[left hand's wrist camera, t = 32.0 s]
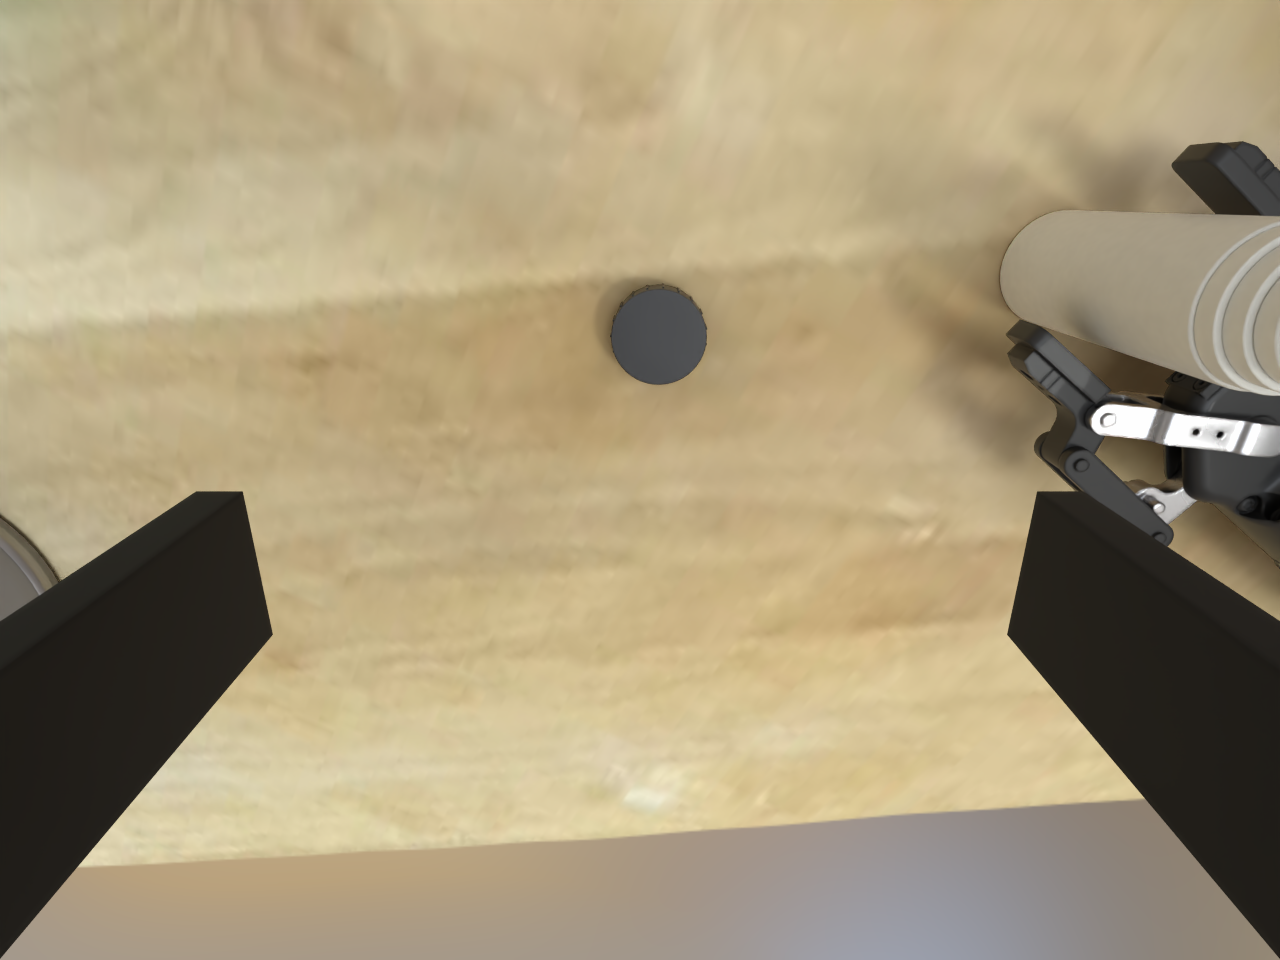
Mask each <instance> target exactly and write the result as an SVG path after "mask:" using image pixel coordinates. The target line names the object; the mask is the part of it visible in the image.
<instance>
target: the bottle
mask: <svg viewBox="0 0 1280 960" xmlns="http://www.w3.org/2000/svg"><path fill="white" fill-rule="evenodd" d="M1000 285H1001V291H1002V294H1003V297H1004V299H1005V302H1006V303H1007V305H1008V306H1009V308H1010V309H1011V310H1012V311H1013V312H1014V313H1015V314H1016V315H1017V316H1019V317H1020V318H1022V319H1024V320H1026V321H1028V322H1031V323H1034V324H1037V325H1040V326H1043V327H1046V328H1049V329H1052V330H1055V331H1058V332H1061V333H1064V334H1067V335H1070V336H1073V337H1076V338H1079V339H1082V340H1085V341H1088V342H1091V343H1094V344H1097V345H1100V346H1103V347H1106V348H1109V349H1112V350H1115V351H1118V352H1121V353H1124V354H1127V355H1130V356H1133V357H1136V358H1139V359H1142V360H1145V361H1147V362H1150V363H1153V364H1156V365H1159V366H1162V367H1165V368H1168V369H1171V370H1174V371H1177V372H1180V373H1183V374H1186V375H1189V376H1192V377H1195V378H1198V379H1201V380H1204V381H1207V382H1210V383H1213V384H1216V385H1219V386H1222V387H1225V388H1228V389H1233V390H1237V391H1245V392H1253V393H1257V394H1261V395H1270V396H1280V216H1253V215H1220V214H1187V213H1154V212H1121V211H1088V210H1061V211H1055V212H1052V213H1048V214H1046V215H1043V216H1041V217H1039V218H1037V219H1036V220H1034V221H1032V222H1031V223H1030V224H1028V225H1027V226H1026V227H1025V228H1024V229H1023V230H1022V231H1021V232H1019V234H1018V235H1017V236H1016V237H1015V238H1014V240H1013V241H1012V243H1011V244H1010V246H1009V248H1008V249H1007V251H1006V253H1005V256H1004V259H1003V262H1002V266H1001V272H1000Z"/></svg>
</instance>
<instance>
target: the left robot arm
mask: <svg viewBox="0 0 1280 960" xmlns="http://www.w3.org/2000/svg"><path fill="white" fill-rule="evenodd" d="M272 635H273V633H272V629H271V624H270V619H269V614H268V610H267V605H266V600H265V595H264V590H263V586H262V581H261V576H260V571H259V567H258V562H257V557H256V552H255V548H254V543H253V538H252V533H251V529H250V524H249V519H248V514H247V510H246V505H245V500H244V495H243V492H195V493H193V494H192V495H190V496H189V497H187V498H186V499H184V500H183V501H181V502H180V503H178V504H177V505H175V506H174V507H172V508H171V509H169V510H168V511H166V512H165V513H163V514H162V515H160V516H159V517H157V518H156V519H154V520H152V521H151V522H149V523H148V524H146V525H145V526H143V527H142V528H140V529H139V530H137V531H136V532H134V533H133V534H131V535H130V536H128V537H127V538H125V539H124V540H122V541H121V542H119V543H118V544H116V545H115V546H113V547H112V548H110V549H109V550H107V551H106V552H104V553H103V554H101V555H100V556H98V557H97V558H95V559H94V560H92V561H91V562H89V563H87V564H86V565H84V566H83V567H81V568H80V569H78V570H77V571H75V572H74V573H72V574H71V575H69V576H68V577H66V578H65V579H63V580H62V581H60V582H58V581H57V579H56V577H55V576H54V574H53V572H52V571H51V569H50V568H49V567H48V565H47V564H46V562H45V561H44V560H43V558H42V557H41V556H40V555H39V554H38V552H37V551H36V550H35V549H34V548H33V547H32V546H31V545H30V544H29V542H28V541H27V540H26V539H25V538H24V537H23V536H21V535H20V534H19V533H18V532H17V531H16V530H15V529H14V528H13V527H11V526H10V525H9V524H8V523H6V522H5V521H4V520H2V519H1V518H0V958H1V957H2V956H3V955H4V954H5V952H6V951H7V950H8V949H9V948H10V946H11V945H12V944H13V943H14V942H15V940H16V939H17V938H18V937H19V936H20V935H21V933H22V932H23V931H24V930H25V929H26V927H27V926H28V925H29V924H30V923H31V921H32V920H33V919H34V918H35V917H36V915H37V914H38V913H39V912H40V911H41V910H42V908H43V907H44V906H45V905H46V904H47V902H48V901H49V900H50V899H51V898H52V896H53V895H54V894H55V893H56V892H57V890H58V889H59V888H60V887H61V886H62V885H63V883H64V882H65V881H66V880H67V879H68V877H69V876H70V875H71V874H72V873H73V872H74V870H75V869H76V868H77V867H78V866H79V864H80V863H81V862H82V861H83V860H84V858H85V857H86V856H87V855H88V854H89V852H90V851H91V850H92V849H93V848H94V847H95V845H96V844H97V843H98V842H99V841H100V839H101V838H102V837H103V836H104V835H105V833H106V832H107V831H108V830H109V829H110V828H111V826H112V825H113V824H114V823H115V822H116V820H117V819H118V818H119V817H120V816H121V814H122V813H123V812H124V811H125V810H126V809H127V807H128V806H129V805H130V804H131V803H132V801H133V800H134V799H135V798H136V797H137V795H138V794H139V793H140V792H141V791H142V789H143V788H144V787H145V786H146V785H147V784H148V782H149V781H150V780H151V779H152V778H153V776H154V775H155V774H156V773H157V772H158V770H159V769H160V768H161V767H162V766H163V765H164V763H165V762H166V761H167V760H168V759H169V757H170V756H171V755H172V754H173V753H174V751H175V750H176V749H177V748H178V747H179V745H180V744H181V743H182V742H183V741H184V740H185V738H186V737H187V736H188V735H189V734H190V732H191V731H192V730H193V729H194V728H195V726H196V725H197V724H198V723H199V722H200V721H201V719H202V718H203V717H204V716H205V715H206V713H207V712H208V711H209V710H210V709H211V707H212V706H213V705H214V704H215V703H216V702H217V700H218V699H219V698H220V697H221V696H222V694H223V693H224V692H225V691H226V690H227V688H228V687H229V686H230V685H231V684H232V682H233V681H234V680H235V679H236V678H237V677H238V675H239V674H240V673H241V672H242V671H243V669H244V668H245V667H246V666H247V665H248V663H249V662H250V661H251V660H252V659H253V658H254V656H255V655H256V654H257V653H258V652H259V650H260V649H261V648H262V647H263V646H264V644H265V643H266V642H267V641H268V640H269V639H270V637H271V636H272ZM1007 635H1008V636H1009V637H1010V639H1011V640H1012V641H1013V642H1014V643H1015V644H1016V646H1017V647H1018V648H1019V649H1020V650H1021V652H1022V653H1023V654H1024V655H1025V656H1026V658H1027V659H1028V660H1029V661H1030V662H1031V663H1032V665H1033V666H1034V667H1035V668H1036V669H1037V671H1038V672H1039V673H1040V674H1041V675H1042V677H1043V678H1044V679H1045V680H1046V681H1047V682H1048V684H1049V685H1050V686H1051V687H1052V688H1053V690H1054V691H1055V692H1056V693H1057V694H1058V696H1059V697H1060V698H1061V699H1062V700H1063V702H1064V703H1065V704H1066V705H1067V706H1068V707H1069V709H1070V710H1071V711H1072V712H1073V713H1074V715H1075V716H1076V717H1077V718H1078V719H1079V721H1080V722H1081V723H1082V724H1083V725H1084V726H1085V728H1086V729H1087V730H1088V731H1089V732H1090V734H1091V735H1092V736H1093V737H1094V738H1095V740H1096V741H1097V742H1098V743H1099V744H1100V745H1101V747H1102V748H1103V749H1104V750H1105V751H1106V753H1107V754H1108V755H1109V756H1110V757H1111V759H1112V760H1113V761H1114V762H1115V763H1116V765H1117V766H1118V767H1119V768H1120V769H1121V770H1122V772H1123V773H1124V774H1125V775H1126V776H1127V778H1128V779H1129V780H1130V781H1131V782H1132V784H1133V785H1134V786H1135V787H1136V788H1137V789H1138V791H1139V792H1140V793H1141V794H1142V795H1143V797H1144V798H1145V799H1146V800H1147V801H1148V803H1149V804H1150V805H1151V806H1152V807H1153V809H1154V810H1155V811H1156V812H1157V813H1158V814H1159V816H1160V817H1161V818H1162V819H1163V820H1164V822H1165V823H1166V824H1167V825H1168V826H1169V827H1170V829H1171V830H1172V831H1173V832H1174V833H1175V835H1176V836H1177V837H1178V838H1179V839H1180V841H1181V842H1182V843H1183V844H1184V845H1185V847H1186V848H1187V849H1188V850H1189V851H1190V852H1191V854H1192V855H1193V856H1194V857H1195V858H1196V860H1197V861H1198V862H1199V863H1200V864H1201V866H1202V867H1203V868H1204V869H1205V870H1206V871H1207V873H1208V874H1209V875H1210V876H1211V877H1212V879H1213V880H1214V881H1215V882H1216V883H1217V885H1218V886H1219V887H1220V888H1221V889H1222V891H1223V892H1224V893H1225V894H1226V895H1227V896H1228V898H1229V899H1230V900H1231V901H1232V902H1233V904H1234V905H1235V906H1236V907H1237V908H1238V910H1239V911H1240V912H1241V913H1242V914H1243V916H1244V917H1245V918H1246V919H1247V920H1248V921H1249V923H1250V924H1251V925H1252V926H1253V927H1254V929H1255V930H1256V931H1257V932H1258V933H1259V934H1260V936H1261V937H1262V938H1263V939H1264V940H1265V942H1266V943H1267V944H1268V945H1269V946H1270V948H1271V949H1272V950H1273V951H1274V952H1275V954H1276V955H1277V956H1278V957H1279V958H1280V621H1279V620H1277V619H1276V618H1274V617H1273V616H1271V615H1270V614H1268V613H1267V612H1265V611H1264V610H1262V609H1261V608H1259V607H1258V606H1256V605H1254V604H1253V603H1251V602H1250V601H1248V600H1247V599H1245V598H1244V597H1242V596H1241V595H1239V594H1238V593H1236V592H1235V591H1233V590H1232V589H1230V588H1229V587H1227V586H1226V585H1224V584H1223V583H1221V582H1220V581H1218V580H1217V579H1215V578H1214V577H1212V576H1211V575H1209V574H1208V573H1206V572H1205V571H1203V570H1202V569H1200V568H1199V567H1197V566H1196V565H1194V564H1193V563H1191V562H1189V561H1188V560H1186V559H1185V558H1183V557H1182V556H1180V555H1179V554H1177V553H1176V552H1174V551H1173V550H1171V549H1170V548H1168V547H1167V546H1165V545H1164V544H1162V543H1161V542H1159V541H1158V540H1156V539H1155V538H1153V537H1152V536H1150V535H1149V534H1147V533H1146V532H1144V531H1143V530H1141V529H1140V528H1138V527H1137V526H1135V525H1134V524H1132V523H1131V522H1129V521H1128V520H1126V519H1124V518H1123V517H1121V516H1120V515H1118V514H1117V513H1115V512H1114V511H1112V510H1111V509H1109V508H1108V507H1106V506H1105V505H1103V504H1102V503H1100V502H1099V501H1097V500H1096V499H1094V498H1093V497H1091V496H1090V495H1088V494H1087V493H1085V492H1037V495H1036V500H1035V505H1034V510H1033V514H1032V519H1031V524H1030V529H1029V533H1028V538H1027V543H1026V548H1025V552H1024V557H1023V562H1022V567H1021V571H1020V576H1019V581H1018V586H1017V590H1016V595H1015V600H1014V605H1013V610H1012V614H1011V619H1010V624H1009V629H1008V633H1007Z"/></svg>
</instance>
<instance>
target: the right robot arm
mask: <svg viewBox="0 0 1280 960" xmlns="http://www.w3.org/2000/svg"><path fill="white" fill-rule="evenodd" d="M1172 168H1173V170H1174V171H1175V172H1176V173H1177V174H1178V175H1179V176H1180V177H1181V178H1182V179H1183V180H1184V181H1185V182H1186V183H1187V184H1188V186H1189V187H1190V188H1191V189H1192V190H1193V191H1194V192H1195V193H1196V194H1197V195H1198V196H1199V197H1200V198H1201V199H1202V200H1203V201H1204V202H1205V203H1206V204H1207V205H1208V206H1209V208H1210V209H1211V210H1212V211H1213V212H1214V213H1215V214H1220V215H1253V216H1280V171H1279V170H1278V169H1277V167H1274V164H1273V163H1272V162H1271V161H1270V160H1269V159H1267V157H1266V155H1265V154H1264V153H1263V152H1262V151H1261V150H1260V149H1259V148H1258V147H1257V146H1255V145H1252V144H1249V143H1246V142H1243V141H1242V142H1232V143H1219V142H1216V143H1206V144H1196V145H1190V146H1188V147H1187V148H1186V149H1185V151H1184V152H1183V153H1182V154H1181V155H1180V156H1179V157H1178V158H1177V159H1176V160H1175V161H1174V162H1173V163H1172ZM1006 335H1007V337H1008V338H1009V339H1010V340H1011V341H1012V342H1014V343H1015V344H1016V345H1015V346H1014V347H1013V348H1012V349H1011V350H1010V351H1009V352H1008V353H1007V354H1008V357H1009V359H1010V362H1011V364H1012V366H1013V367H1014V368H1015V369H1017V370H1018V371H1019V372H1020V373H1021V374H1022V375H1023V376H1024V377H1026V378H1027V379H1028V380H1029V381H1030V382H1031V383H1032V384H1033V385H1034V386H1036V387H1037V388H1038V389H1039V390H1040V391H1041V392H1042V393H1043V394H1044V395H1046V396H1047V397H1048V398H1049V399H1050V400H1051V401H1052V402H1053V403H1054V404H1055V406H1056V408H1057V418H1056V421H1055V423H1054V425H1053V426H1052V428H1051V430H1050V431H1049V432H1045V433H1043V434H1042V435H1040V436H1039V437H1038V438H1037V440H1036V442H1035V444H1034V451H1035V453H1036V455H1037V456H1038V457H1039V458H1041V459H1042V460H1043V461H1044V462H1045V463H1046V464H1047V465H1048V466H1049V467H1050V468H1051V469H1052V470H1053V471H1055V472H1056V473H1057V474H1058V475H1059V476H1060V477H1061V478H1062V479H1063V480H1064V481H1065V482H1066V483H1067V484H1068V485H1070V486H1071V487H1072V488H1073V489H1074V490H1075V491H1076V492H1085V493H1087V494H1088V495H1090V496H1091V497H1093V498H1094V499H1096V500H1097V501H1099V502H1100V503H1102V504H1103V505H1105V506H1106V507H1108V508H1109V509H1111V510H1112V511H1114V512H1115V513H1117V514H1118V515H1120V516H1121V517H1123V518H1124V519H1126V520H1128V521H1129V522H1131V523H1132V524H1134V525H1135V526H1137V527H1138V528H1140V529H1141V530H1143V531H1144V532H1146V533H1147V534H1149V535H1150V536H1152V537H1153V538H1155V539H1156V540H1158V541H1159V542H1161V543H1162V544H1164V545H1165V546H1168V545H1169V544H1170V543H1171V542H1172V540H1173V536H1174V533H1173V530H1172V528H1171V527H1170V526H1169V525H1168V524H1169V523H1171V522H1172V521H1173V520H1174V519H1175V518H1177V517H1178V516H1179V515H1180V514H1182V513H1183V512H1184V511H1185V510H1186V509H1188V508H1189V507H1190V506H1191V505H1193V504H1194V503H1195V502H1196V501H1200V502H1204V503H1212V504H1213V505H1214V506H1215V507H1217V508H1218V509H1219V510H1220V511H1221V512H1222V513H1223V514H1224V515H1225V516H1226V517H1228V518H1229V519H1230V520H1231V521H1232V522H1233V523H1234V524H1235V525H1236V526H1237V527H1238V528H1240V529H1241V530H1242V531H1243V532H1244V533H1245V534H1246V535H1247V536H1248V537H1249V538H1250V539H1252V540H1253V541H1254V542H1255V543H1256V544H1257V545H1258V546H1259V547H1260V548H1261V549H1262V550H1264V551H1265V552H1266V553H1267V554H1268V555H1269V556H1270V557H1271V558H1272V559H1273V560H1274V562H1275V564H1276V565H1277V566H1278V567H1279V568H1280V396H1270V395H1261V394H1257V393H1253V392H1245V391H1237V390H1233V389H1228V388H1225V387H1222V386H1219V385H1216V384H1213V383H1210V382H1207V381H1204V380H1201V379H1198V378H1195V377H1192V376H1189V375H1186V374H1183V373H1180V372H1177V371H1175V372H1174V373H1173V374H1172V375H1171V376H1170V377H1169V378H1168V379H1167V380H1166V381H1165V382H1166V383H1167V384H1168V385H1169V387H1168V389H1167V390H1166V392H1165V395H1156V394H1147V393H1138V392H1128V391H1119V392H1110V391H1111V389H1110V388H1109V387H1107V386H1106V385H1105V384H1104V383H1103V382H1102V381H1101V380H1100V379H1099V378H1098V377H1097V376H1096V375H1094V374H1093V373H1092V372H1091V371H1090V370H1089V369H1088V368H1087V367H1086V366H1085V365H1084V364H1083V363H1081V362H1080V361H1079V360H1078V359H1077V358H1076V357H1075V356H1074V355H1073V354H1072V353H1071V352H1070V351H1069V350H1067V349H1066V348H1065V347H1064V346H1063V345H1062V344H1061V343H1060V342H1059V341H1058V340H1057V339H1056V338H1054V337H1053V336H1052V335H1051V334H1050V333H1049V332H1047V331H1046V330H1045V329H1043V328H1042V327H1040V326H1038V325H1035V324H1032V323H1029V322H1026V321H1023V320H1019V321H1018V322H1017V323H1016V324H1015V325H1014V326H1013V327H1012V328H1011V329H1010V330H1009V331H1008V332H1007V333H1006ZM1105 435H1106V436H1115V437H1125V438H1134V439H1143V440H1148V441H1152V442H1155V443H1159V444H1163V451H1164V473H1165V476H1166V479H1167V480H1166V481H1165V482H1163V483H1161V484H1158V485H1151V484H1148V483H1146V482H1145V481H1143V480H1138V479H1136V480H1131V481H1129V482H1127V481H1122V480H1121V479H1120V478H1119V477H1118V476H1116V475H1115V474H1114V473H1113V472H1112V471H1111V470H1110V469H1109V468H1108V467H1107V466H1106V465H1105V464H1104V463H1103V462H1102V461H1101V460H1100V459H1099V458H1098V457H1097V456H1096V455H1094V454H1095V452H1096V451H1097V449H1098V447H1099V446H1100V444H1101V442H1102V440H1103V439H1104V437H1105Z"/></svg>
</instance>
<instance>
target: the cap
mask: <svg viewBox="0 0 1280 960" xmlns="http://www.w3.org/2000/svg"><path fill="white" fill-rule="evenodd" d="M702 314H703V313H702V311H701V309H699V308H698V306H697V305H696V303H695V302H694V301H693V299H692V297H691V296H690V297H689V296H688V295H687V294H686V293H684V292H683V291H681V290H680V289H679V288H678V287H677V288H674V287H671V286H667V285H664V284H662V285H651V286H648V285H647V286H646V287H644V288H641V289H639V290H637V291H635V292H634V291H633V292H632V294H631V295H630V296H629V297H628V298H626V299H625V301H624V302H621V304H620V308H619V309H618V312H617V314H616V316H615V315H614V318H613V322H614V323H613V326H612V332H611V335H610V337H611V341H612V348H613V353H614V354H615V357H616V359H617V361H618V362H619V364H620V365H621V367H622V368H623V369H624V370H625V371H626V372H627V373H628V374H629V375H631V376H632V377H634V378H635V379H637V380H639V381H642V382H645V383H649V384H657V385H661V384H669V383H673V382H675V381H678V380H680V379H682V378H684V377H685V376H687V375H688V374H689V373H690V372H691V371H693V369H694V368H695V367H696V366H697V365H698V363H699V362H700V360H701V358H702V356H703V353H704V350H705V346H706V345H707V343H706V339H707V335H706V330H707V327H706V324H705V323H704V320H703V317H702Z"/></svg>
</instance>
